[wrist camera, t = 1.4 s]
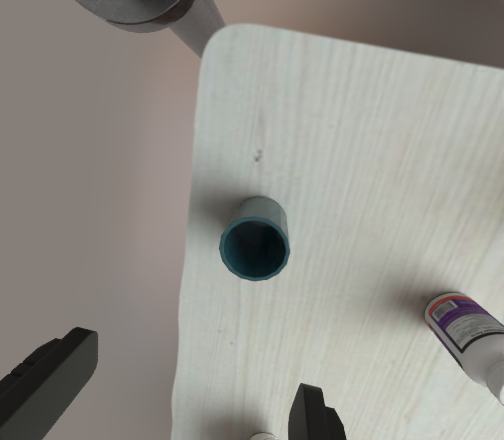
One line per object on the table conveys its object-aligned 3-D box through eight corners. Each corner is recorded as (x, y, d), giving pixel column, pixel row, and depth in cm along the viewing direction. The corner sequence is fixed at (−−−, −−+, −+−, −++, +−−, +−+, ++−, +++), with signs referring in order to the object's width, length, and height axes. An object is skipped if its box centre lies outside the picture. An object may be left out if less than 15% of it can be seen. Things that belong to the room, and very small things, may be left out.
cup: (223, 214, 28) (206, 239, 21) (268, 186, 27) (265, 203, 20) (252, 255, 29) (244, 291, 23) (297, 231, 28) (302, 261, 21)
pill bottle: (472, 329, 29) (561, 418, 20) (422, 332, 30) (484, 419, 21) (477, 288, 28) (575, 365, 19) (424, 292, 29) (492, 368, 19)
